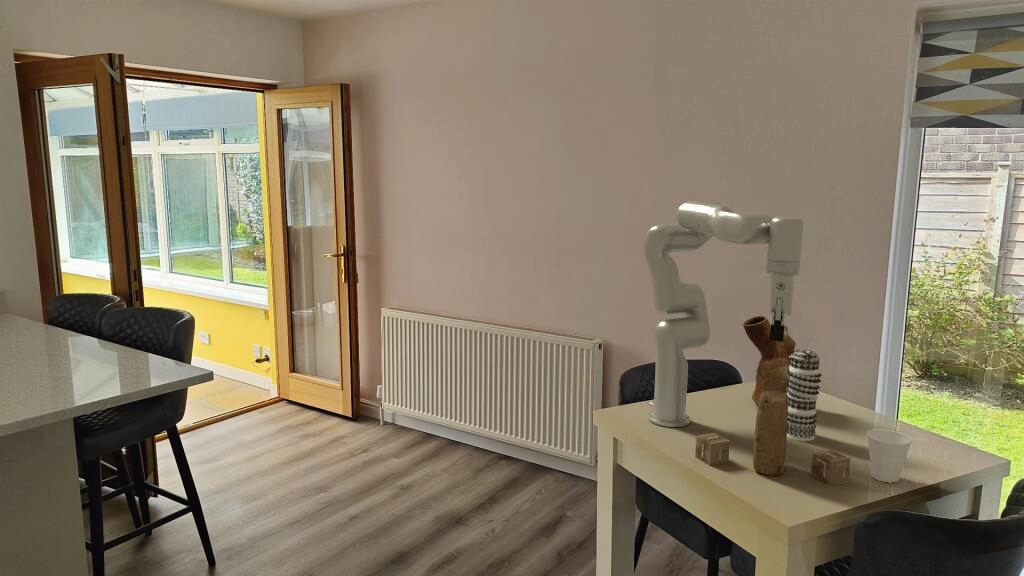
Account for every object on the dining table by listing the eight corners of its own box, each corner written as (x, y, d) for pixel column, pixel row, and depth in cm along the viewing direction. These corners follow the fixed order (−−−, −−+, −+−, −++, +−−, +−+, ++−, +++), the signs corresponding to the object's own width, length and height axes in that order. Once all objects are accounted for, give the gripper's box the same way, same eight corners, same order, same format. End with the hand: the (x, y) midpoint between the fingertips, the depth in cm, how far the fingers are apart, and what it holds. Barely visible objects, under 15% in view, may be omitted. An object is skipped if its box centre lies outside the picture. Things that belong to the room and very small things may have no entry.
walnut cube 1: (694, 457, 183) (695, 435, 182) (713, 454, 185) (714, 432, 184) (709, 466, 177) (710, 443, 176) (728, 462, 179) (730, 440, 178)
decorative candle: (800, 443, 193) (807, 357, 189) (775, 432, 201) (781, 349, 197) (823, 438, 197) (830, 353, 193) (797, 428, 205) (804, 346, 201)
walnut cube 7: (810, 475, 172) (812, 452, 171) (828, 472, 174) (830, 449, 173) (830, 486, 166) (832, 461, 165) (848, 482, 169) (851, 458, 168)
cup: (888, 490, 164) (893, 446, 162) (853, 473, 173) (857, 432, 171) (917, 483, 168) (921, 440, 166) (881, 467, 177) (885, 426, 175)
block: (782, 479, 169) (788, 401, 166) (750, 473, 173) (755, 397, 169) (786, 463, 179) (792, 389, 176) (756, 458, 182) (761, 385, 179)
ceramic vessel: (814, 415, 216) (822, 322, 211) (744, 414, 216) (751, 321, 212) (795, 399, 231) (802, 312, 227) (730, 398, 232) (735, 311, 227)
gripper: (799, 272, 159) (792, 349, 163) (799, 264, 173) (792, 335, 176) (765, 270, 162) (758, 345, 166) (767, 262, 176) (761, 332, 179)
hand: (776, 340), depth 171 cm, fingers closed
